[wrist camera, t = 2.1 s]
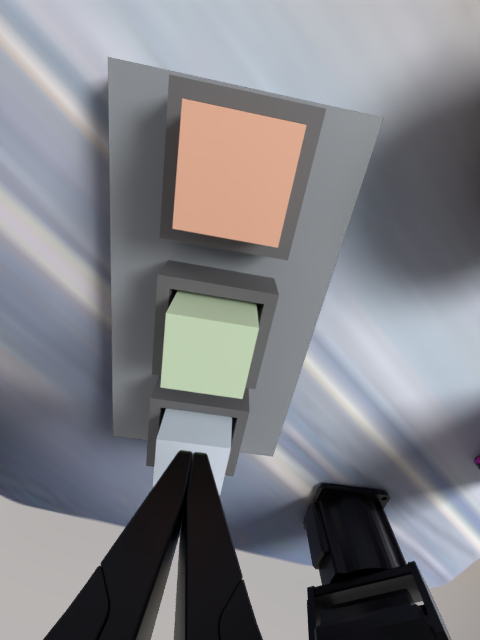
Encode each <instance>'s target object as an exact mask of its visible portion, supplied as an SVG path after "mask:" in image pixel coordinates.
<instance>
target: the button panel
mask: <svg viewBox="0 0 480 640" xmlns="http://www.w3.org/2000/svg"><path fill="white" fill-rule="evenodd" d="M182 98H184V99H188V100H193V101H198V102H202V103H207V104H212V105H216V106H221V107H226V108H230V109H235V110H240V111H244V112H249V113H254V114H258V115H263V116H268V117H272V118H277V119H282V120H286V121H291V122H296V123H300V124H305V125H307V126H306V130H305V134H304V139H303V143H302V147H301V151H300V156H299V160H298V164H297V168H296V173H295V177H294V181H293V186H292V190H291V194H290V198H289V203H288V207H287V211H286V215H285V220H284V224H283V228H282V233H281V237H280V241H279V245H278V248H276V247H271V246H265V245H260V244H254V243H249V242H243V241H238V240H232V239H227V238H221V237H216V236H210V235H205V234H199V233H194V232H188V231H183V230H177V229H172V227H173V214H174V200H175V187H176V174H177V161H178V148H179V134H180V121H181V108H182ZM108 103H109V175H110V248H111V321H112V394H113V436H117V437H125V438H132V439H140V440H148V446H147V463H146V466H153V467H154V465H155V452H156V439H157V436H158V433H159V429H160V426H161V423H162V420H163V417H164V414H165V410H166V408H168V409H175V410H183V411H190V412H197V413H205V414H212V415H219V416H227V417H232V433H231V450H230V455H229V459H228V463H227V468H226V472H225V475H227V476H233V475H234V471H235V467H236V463H237V459H238V455H239V452H242V453H250V454H258V455H266V456H273V454H274V451H275V448H276V445H277V442H278V439H279V436H280V433H281V430H282V426H283V423H284V420H285V417H286V414H287V411H288V408H289V405H290V402H291V399H292V396H293V393H294V390H295V387H296V384H297V381H298V378H299V375H300V372H301V368H302V365H303V362H304V359H305V356H306V353H307V350H308V347H309V344H310V341H311V338H312V335H313V332H314V329H315V326H316V323H317V320H318V317H319V313H320V310H321V307H322V304H323V301H324V298H325V295H326V292H327V289H328V286H329V283H330V280H331V277H332V274H333V271H334V268H335V265H336V262H337V259H338V255H339V252H340V249H341V246H342V243H343V240H344V237H345V234H346V231H347V228H348V225H349V222H350V219H351V216H352V213H353V210H354V207H355V204H356V200H357V197H358V194H359V191H360V188H361V185H362V182H363V179H364V176H365V173H366V170H367V167H368V164H369V161H370V158H371V155H372V152H373V149H374V146H375V142H376V139H377V136H378V133H379V130H380V127H381V124H382V121H383V117H378V116H374V115H369V114H365V113H360V112H356V111H351V110H347V109H342V108H337V107H333V106H328V105H324V104H319V103H315V102H310V101H306V100H301V99H297V98H292V97H288V96H283V95H278V94H274V93H269V92H265V91H260V90H256V89H251V88H247V87H242V86H238V85H233V84H229V83H224V82H219V81H215V80H210V79H206V78H201V77H197V76H192V75H188V74H183V73H179V72H174V71H170V70H165V69H160V68H156V67H151V66H147V65H142V64H138V63H133V62H129V61H124V60H120V59H115V58H111V57H108ZM178 290H182V291H188V292H194V293H200V294H206V295H212V296H218V297H224V298H230V299H236V300H242V301H248V302H254V303H256V304H257V313H258V322H259V331H258V335H257V339H256V344H255V348H254V352H253V356H252V361H251V365H250V369H249V374H248V378H247V382H246V386H245V391H244V395H243V399H239V398H231V397H224V396H217V395H210V394H203V393H196V392H189V391H182V390H175V389H168V388H161V387H160V385H161V372H162V359H163V346H164V333H165V319H166V312H167V310H168V308H169V306H170V304H171V303H172V301H173V299H174V297H175V295H176V293H177V291H178Z"/></svg>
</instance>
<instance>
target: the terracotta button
mask: <svg viewBox="0 0 480 640" xmlns="http://www.w3.org/2000/svg"><path fill="white" fill-rule="evenodd" d="M306 126H307V125H305V124H300V123H296V122H291V121H286V120H282V119H277V118H272V117H268V116H263V115H258V114H254V113H249V112H244V111H240V110H235V109H230V108H226V107H221V106H216V105H212V104H207V103H202V102H198V101H193V100H188V99H184V98H182V108H181V121H180V134H179V148H178V161H177V174H176V187H175V200H174V214H173V227H172V229H177V230H183V231H188V232H194V233H199V234H205V235H210V236H216V237H221V238H227V239H232V240H238V241H243V242H249V243H254V244H260V245H265V246H271V247H276V248H278V245H279V241H280V237H281V233H282V228H283V224H284V220H285V215H286V211H287V207H288V203H289V198H290V194H291V190H292V186H293V181H294V177H295V173H296V168H297V164H298V160H299V156H300V151H301V147H302V143H303V139H304V134H305V130H306Z"/></svg>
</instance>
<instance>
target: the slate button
mask: <svg viewBox="0 0 480 640" xmlns="http://www.w3.org/2000/svg"><path fill="white" fill-rule="evenodd" d="M231 433H232V417H227V416H219V415H212V414H205V413H197V412H190V411H183V410H175V409H168V408H166V410H165V414H164V417H163V420H162V423H161V426H160V429H159V433H158V436H157V439H156V452H155V465H154V478H153V487H154V486H155V484H156V483H157V481H158V480H159V479H160V477H161V476H162V474H163V473H164V471H165V470H166V468H167V467H168V466H169V464H170V463H171V461H172V460H173V458H174V457H175V456H176V454H177V453H178V452H179V451H180V450H186V451H191V452H192V453H194V452H202V453H206V454H207V455H208V458H209V461H210V465H211V468H212V472H213V475H214V479H215V482H216V486H217V489H218V493H219V495H220V493H221V489H222V485H223V480H224V476H225V472H226V468H227V463H228V459H229V455H230V450H231Z"/></svg>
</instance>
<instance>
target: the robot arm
mask: <svg viewBox="0 0 480 640" xmlns="http://www.w3.org/2000/svg"><path fill="white" fill-rule="evenodd" d="M389 499H390V497H389V495H388V492H386V491H380V490H372V489H364V488H356V487H348V486H339V485H331V484H323V485H321V486H320V487H319V490H318V492H317V494H316V496H315V498H314V500H313V502H312V503H311V505H310V507H309V509H308V512H307V514H306V516H305V518H304V522H303V524H304V528H305V529H306V531H307V537H308V542H309V548H310V553H311V559H312V564H313V566H314V568H315V569H319V572H320V576H321V582H322V586H318V587H314V586H312V587H308V588H307V592H308V600H307V611H308V631H309V640H451V638H450V635H449V633H448V630H447V628H446V626H445V624H444V621H443V619H442V617H441V615H440V612H439V610H438V608H437V606H436V604H435V601H434V599H433V597H432V595H431V593H430V590H429V588H428V586H427V584H426V582H425V580H424V578H423V576H422V574H421V572H420V570H419V569H418V567H417V565H416V563H415V561H412V562H408V564H406V561H405V559H404V557H403V554H402V552H401V550H400V547H399V545H398V542H397V540H396V538H395V535H394V533H393V530H392V528H391V526H390V523H389V521H388V519H387V516H386V514H385V511H384V507H385V506H386V504H387V502H388V501H389ZM181 524H182V525H181ZM180 529H181V532H180ZM179 534H180V543H179V561H178V579H177V594H176V612H175V628H174V640H263V639H262V636H261V633H260V631H259V628H258V625H257V622H256V619H255V616H254V613H253V609H252V606H251V603H250V600H249V597H248V593H247V590H246V586H245V583H244V580H242V573H241V569H240V566H239V562H238V559H237V555H236V552H235V548H234V545H233V542H232V538H231V535H230V531H229V528H228V524H227V521H226V517H225V514H224V510H223V507H222V503H221V500H220V496H219V493H218V489H217V486H216V482H215V479H214V475H213V472H212V468H211V465H210V461H209V458H208V455H207V454H206V453H202V452H194V453H192V452H191V451H186V450H180V451H179V452H178V453H177V454H176V456H175V457H174V458H173V460H172V461H171V463H170V464H169V466H168V467H167V468H166V470H165V471H164V473H163V474H162V476H161V477H160V479H159V480H158V481H157V483H156V484H155V486H154V487H153V489H152V490H151V491H150V493H149V494H148V496H147V497H146V499H145V500H144V502H143V503H142V504H141V506H140V507H139V509H138V510H137V512H136V513H135V514H134V516H133V517H132V519H131V520H130V522H129V523H128V525H127V526H126V527H125V529H124V530H123V532H122V533H121V535H120V536H119V537H118V539H117V540H116V542H115V543H114V545H113V546H112V547H111V549H110V550H109V552H108V553H107V555H106V556H105V558H104V559H103V561H102V562H101V566H98V567H97V569H96V570H95V572H94V573H93V575H92V576H91V577H90V579H89V580H88V582H87V583H86V584H85V586H84V587H83V589H82V590H81V591H80V593H79V594H78V595H77V597H76V598H75V600H74V601H73V602H72V604H71V605H70V606H69V608H68V609H67V610H66V612H65V613H64V614H63V615H62V617H61V618H60V619H59V620H58V622H57V623H56V624H55V625H54V627H53V628H52V629H51V630H50V632H49V633H48V634H47V635H46V637H45V638H44V639H43V640H150V639H151V636H152V632H153V629H154V625H155V621H156V618H157V614H158V611H159V607H160V603H161V600H162V596H163V593H164V589H165V585H166V582H167V578H168V574H169V571H170V567H171V563H172V560H173V556H174V553H175V549H176V545H177V542H178V538H179ZM420 601H423V602H424V605H420V606H418V605H416V604H415V603H416V602H420Z"/></svg>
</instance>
